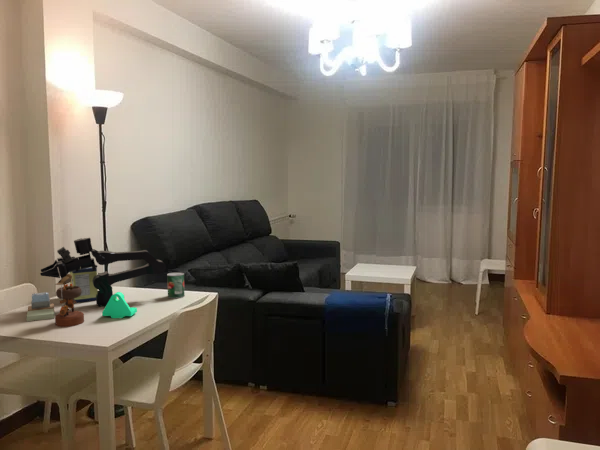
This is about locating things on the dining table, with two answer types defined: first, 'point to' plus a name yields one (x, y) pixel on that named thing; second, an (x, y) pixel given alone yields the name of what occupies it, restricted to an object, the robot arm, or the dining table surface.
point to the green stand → (40, 314)
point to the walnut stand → (40, 308)
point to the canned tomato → (175, 285)
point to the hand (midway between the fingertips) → (40, 272)
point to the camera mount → (118, 307)
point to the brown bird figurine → (68, 304)
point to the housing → (40, 300)
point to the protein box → (84, 284)
